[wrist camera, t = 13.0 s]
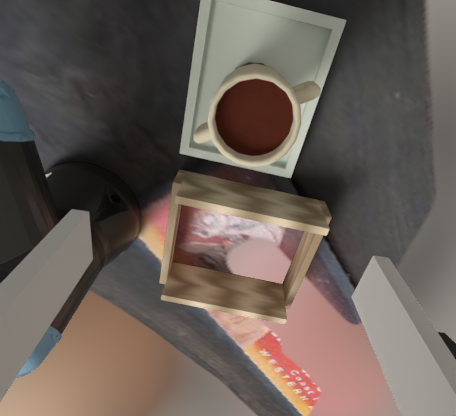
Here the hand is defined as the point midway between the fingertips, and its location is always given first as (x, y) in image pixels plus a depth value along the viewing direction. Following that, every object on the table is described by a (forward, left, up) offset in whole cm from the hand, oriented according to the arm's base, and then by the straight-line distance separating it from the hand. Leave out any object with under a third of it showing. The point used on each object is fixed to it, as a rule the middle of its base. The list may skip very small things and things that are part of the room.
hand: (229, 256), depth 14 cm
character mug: (0, +4, -25) cm, 25 cm away
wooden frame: (+3, -17, -25) cm, 31 cm away
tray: (0, +3, -25) cm, 26 cm away
